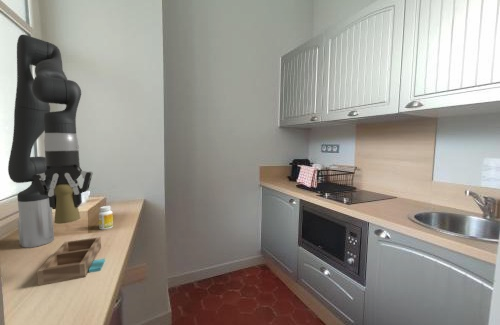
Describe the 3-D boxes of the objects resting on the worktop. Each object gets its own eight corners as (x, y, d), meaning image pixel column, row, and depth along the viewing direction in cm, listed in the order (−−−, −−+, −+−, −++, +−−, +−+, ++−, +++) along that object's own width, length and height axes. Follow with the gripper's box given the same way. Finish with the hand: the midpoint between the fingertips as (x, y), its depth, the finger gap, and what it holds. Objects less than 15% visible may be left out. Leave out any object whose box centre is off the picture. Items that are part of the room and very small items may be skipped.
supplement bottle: (96, 230, 101) (95, 208, 100) (103, 225, 107) (102, 205, 106) (109, 229, 102) (108, 208, 101) (115, 225, 107) (114, 205, 106)
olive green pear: (66, 224, 64) (62, 185, 63) (48, 223, 65) (45, 185, 64) (85, 217, 70) (82, 181, 69) (69, 216, 71) (66, 181, 70)
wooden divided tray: (65, 252, 80) (65, 241, 80) (111, 246, 85) (111, 235, 85) (38, 285, 61) (37, 271, 61) (98, 274, 67) (98, 261, 66)
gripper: (22, 150, 59) (28, 214, 61) (88, 149, 65) (92, 208, 66) (36, 149, 66) (41, 207, 68) (94, 148, 72) (98, 202, 73)
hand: (66, 207), depth 67 cm, fingers closed on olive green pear, 4 cm apart
